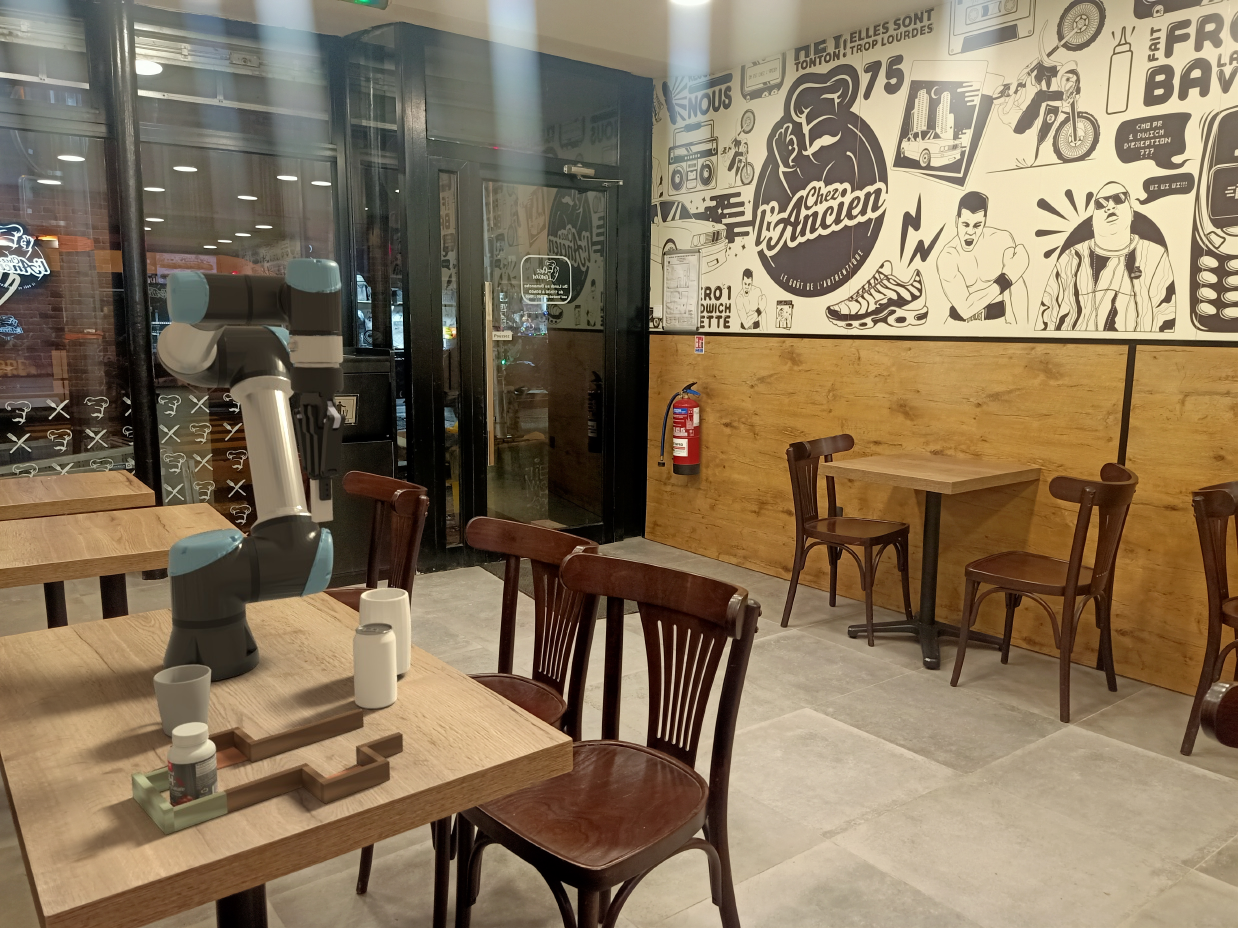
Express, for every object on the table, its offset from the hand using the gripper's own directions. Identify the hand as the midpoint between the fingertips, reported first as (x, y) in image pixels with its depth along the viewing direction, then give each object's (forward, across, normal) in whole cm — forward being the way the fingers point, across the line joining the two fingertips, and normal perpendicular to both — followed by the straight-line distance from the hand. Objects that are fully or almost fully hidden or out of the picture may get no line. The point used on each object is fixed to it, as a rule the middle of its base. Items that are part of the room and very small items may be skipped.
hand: (322, 520), depth 138 cm
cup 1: (+29, -6, -20) cm, 36 cm away
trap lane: (+29, +17, -15) cm, 37 cm away
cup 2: (+29, -4, +12) cm, 32 cm away
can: (+29, +5, +6) cm, 30 cm away
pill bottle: (+29, +18, -26) cm, 43 cm away
